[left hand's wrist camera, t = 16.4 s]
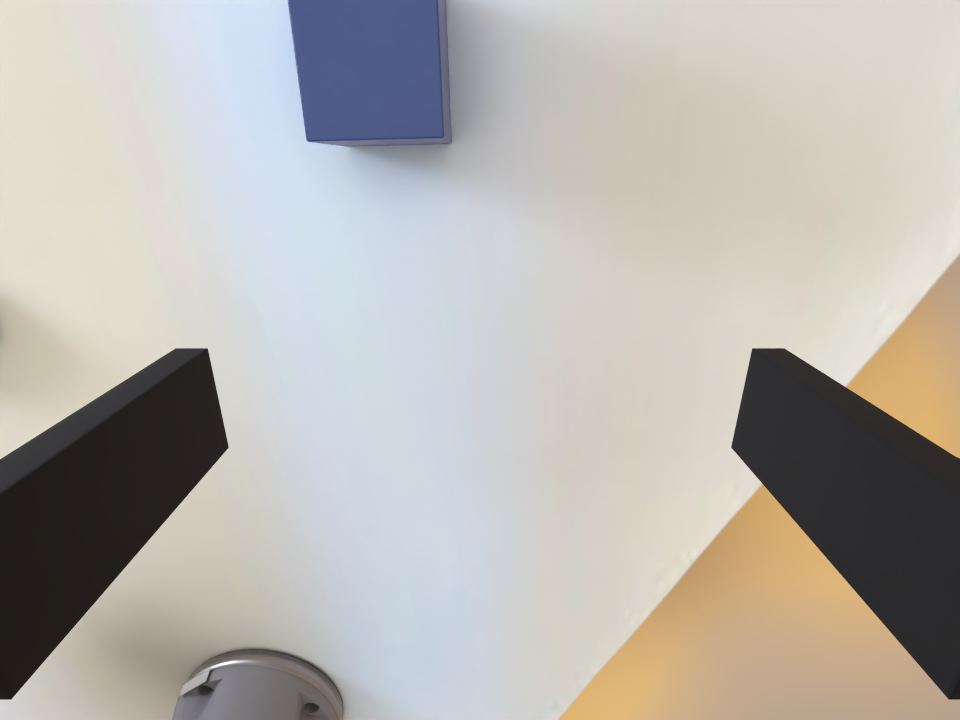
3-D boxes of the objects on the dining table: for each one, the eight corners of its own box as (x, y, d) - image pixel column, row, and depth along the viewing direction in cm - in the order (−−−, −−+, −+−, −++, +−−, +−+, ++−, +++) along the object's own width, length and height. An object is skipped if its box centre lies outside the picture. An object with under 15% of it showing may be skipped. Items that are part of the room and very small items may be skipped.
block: (445, -7, 29) (435, -65, 21) (451, 143, 32) (444, 138, 24) (329, -3, 29) (278, -60, 21) (345, 146, 32) (306, 141, 24)
